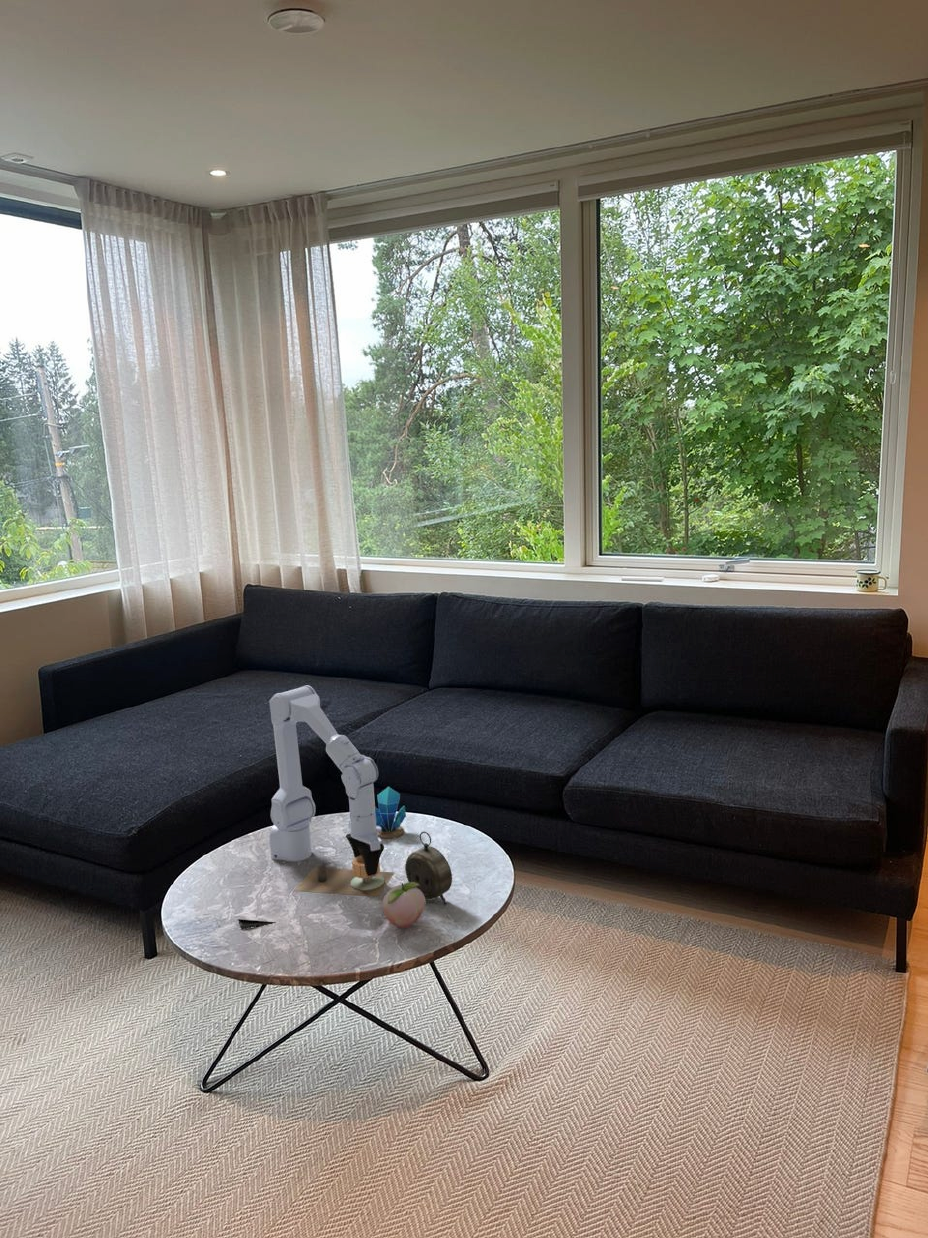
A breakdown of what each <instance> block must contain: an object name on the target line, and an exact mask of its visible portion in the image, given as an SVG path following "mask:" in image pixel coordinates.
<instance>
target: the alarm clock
mask: <svg viewBox="0 0 928 1238" xmlns="http://www.w3.org/2000/svg"><path fill="white" fill-rule="evenodd" d="M423 834H426V835H427V836H428V838H429V844H428V843H424V842H423V841H422V835H423ZM419 841H420V843H421V844H422V845H423V846H422V847H420V848H419V849H417V850H415V851H413V852H412V853H410V854H409V855H408V856H407V858H406V860H405V861H406V862H405V865H404V867H405V868H404V869H405V871H404V872H405V875H406V879H407V883H408V882H416V883H418V884H419V885H420V886H417V888H418V889H420V890H421V891H422V893H423V895H424V897H425V900H435V899H437V898H438V897H440V899H441V901H442V903H443V905H444V906H446V905H447V903H448V902H447V901H446V898H445V896H444V894H445V893H447V892H449V890H450V889H451V887H452V883H453V873H452V870H451V866H450V864H449V862H448V860H447V858H446V857H445V856H444V854H443V853H442V852H441V851H440V850H438V849H437V848H435V847H433V846H431V844H432V837H431V835H430V833H429V832H426V831H421V832H420V834H419Z"/></svg>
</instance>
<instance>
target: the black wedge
mask: <svg viewBox="0 0 928 1238" xmlns="http://www.w3.org/2000/svg"><path fill="white" fill-rule="evenodd" d="M237 921H239V922H238V924H239V925H240V926H239V929H240V928H241V930H243V929H245V930H248V929H247V928H250V929H252V928H251V927H255V928H257V927H256V926H260V927H263V926H264V925H265V926H268V925H269V924H270V925H274V924H276V921H266V920H254V919H253V920H252V919H240V918H239V919H237ZM273 923H274V924H273ZM270 925H269V926H270Z"/></svg>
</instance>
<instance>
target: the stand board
mask: <svg viewBox="0 0 928 1238" xmlns="http://www.w3.org/2000/svg"><path fill="white" fill-rule="evenodd" d="M394 874H395V872H391V871H380V872H379V874H378V875H376V876H374V877H371V878H358V877H355V876H354V875H353V869H346V868H345V869H344V868H333V867H332V868H331V867H330V868H328V867H327V865H326V863H325V862H318V863H317V864H316V867H315V866H314V867H312V869H311V870H310V871H309V872H308V873H307V875H306V876H305V877H304V878H303V879H302V881H301V882H300V883H299V884H298V885H297V886H296V887H295V889H294V890H293V891H294V892H306V893H321V894H334V895H349V896H360V897H361V896H362V897H372V898H373V897H374V898H375V897H377V898H379V896H380V894H381V893H382V892H383V891H384V889H385V887H386V885H387V884H388V883H389V882H390V880H391V878H392V877H393V875H394Z"/></svg>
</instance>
